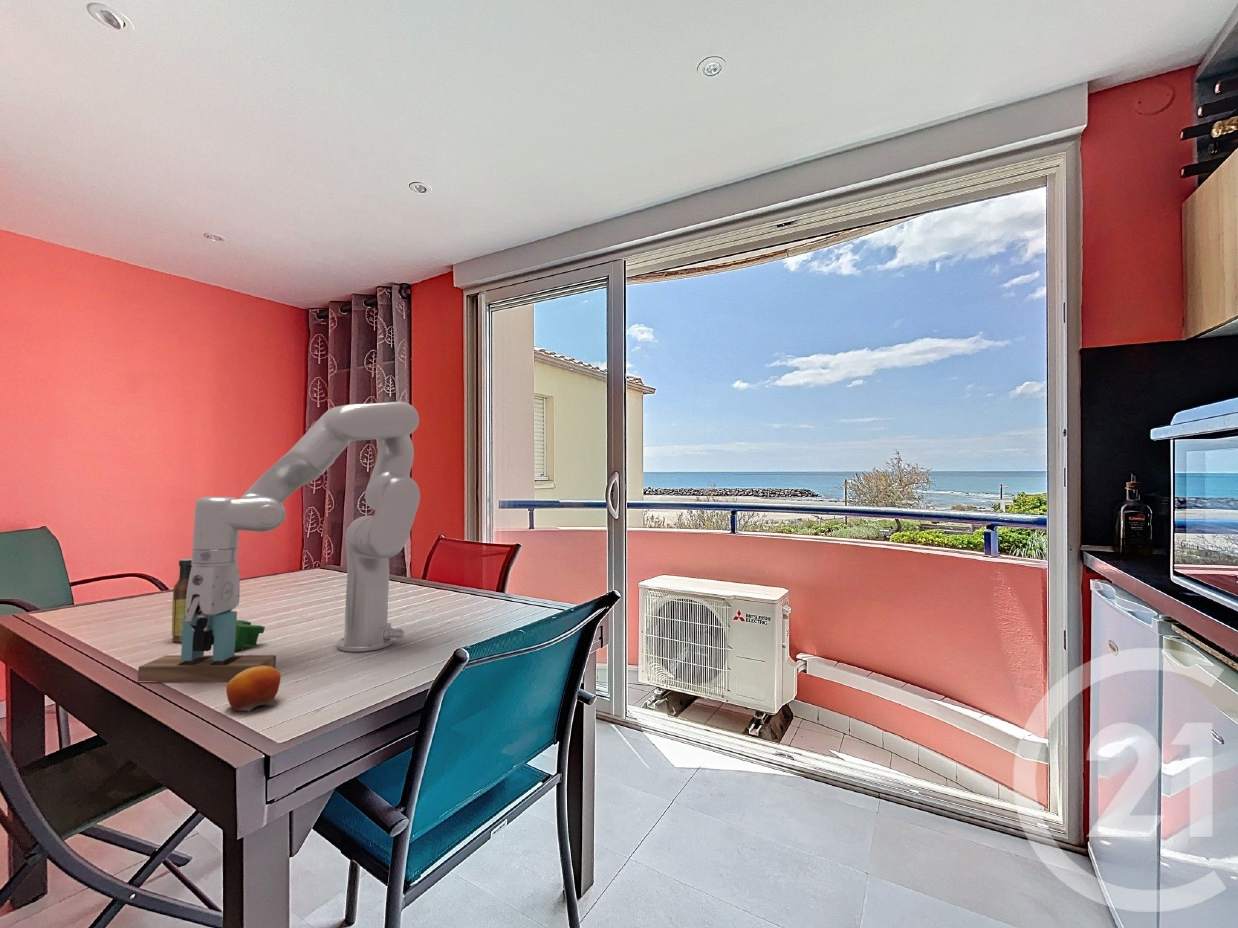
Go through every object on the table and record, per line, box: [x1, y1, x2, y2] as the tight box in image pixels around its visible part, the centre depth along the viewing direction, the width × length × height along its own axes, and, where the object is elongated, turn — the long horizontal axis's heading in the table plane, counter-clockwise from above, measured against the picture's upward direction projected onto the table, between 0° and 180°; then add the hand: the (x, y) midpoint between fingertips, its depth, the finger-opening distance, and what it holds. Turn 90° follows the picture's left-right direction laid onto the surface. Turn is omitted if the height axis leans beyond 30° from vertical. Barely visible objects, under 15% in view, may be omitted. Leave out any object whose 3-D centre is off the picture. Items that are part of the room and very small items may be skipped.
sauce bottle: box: [171, 557, 192, 644], centre depth 133 cm, size 6×6×20 cm
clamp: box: [235, 619, 266, 652], centre depth 130 cm, size 12×6×9 cm, turn 52°
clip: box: [180, 610, 238, 661], centre depth 110 cm, size 4×8×9 cm, turn 95°
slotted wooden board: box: [137, 654, 277, 683], centre depth 110 cm, size 7×22×3 cm, turn 95°
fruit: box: [226, 666, 282, 713], centre depth 96 cm, size 8×8×8 cm
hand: (209, 646), depth 110 cm, fingers closed on clip, 3 cm apart
